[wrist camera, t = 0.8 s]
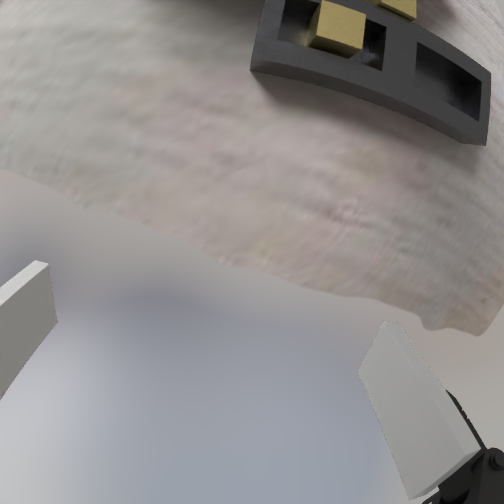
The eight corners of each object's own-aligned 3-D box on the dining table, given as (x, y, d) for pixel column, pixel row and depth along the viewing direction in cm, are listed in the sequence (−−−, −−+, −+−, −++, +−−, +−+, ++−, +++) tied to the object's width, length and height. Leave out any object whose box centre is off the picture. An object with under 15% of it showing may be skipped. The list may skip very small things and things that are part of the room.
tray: (266, -5, 23) (270, -25, 19) (469, 76, 26) (491, 73, 22) (249, 70, 27) (251, 57, 23) (462, 143, 30) (485, 146, 25)
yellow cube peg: (308, 21, 24) (322, -1, 19) (346, 32, 25) (365, 14, 19) (303, 52, 26) (316, 34, 20) (341, 63, 26) (361, 49, 20)
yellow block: (363, -5, 23) (382, -24, 17) (394, 8, 23) (416, -8, 18) (361, 19, 25) (381, 1, 19) (392, 32, 25) (416, 18, 19)
